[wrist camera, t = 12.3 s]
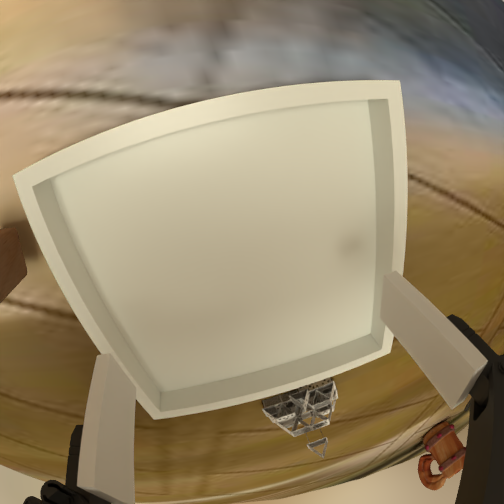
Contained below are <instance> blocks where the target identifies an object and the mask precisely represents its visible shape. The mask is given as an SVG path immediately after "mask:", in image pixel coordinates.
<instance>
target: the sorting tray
mask: <svg viewBox="0 0 504 504" xmlns="http://www.w3.org/2000/svg"><path fill="white" fill-rule="evenodd" d="M12 176H13V179H14V183H15V186H16V189H17V191H18V194H19V197H20V200H21V203H22V205H23V208H24V211H25V213H26V216H27V218H28V221H29V223H30V226H31V228H32V231H33V233H34V235H35V238H36V240H37V242H38V244H39V246H40V249H41V251H42V253H43V255H44V257H45V259H46V261H47V263H48V265H49V267H50V269H51V271H52V273H53V275H54V277H55V279H56V281H57V283H58V285H59V287H60V288H61V290H62V292H63V294H64V296H65V297H66V299H67V301H68V303H69V304H70V306H71V308H72V309H73V311H74V313H75V314H76V316H77V318H78V319H79V321H80V323H81V324H82V326H83V327H84V329H85V330H86V332H87V333H88V335H89V337H90V338H91V340H92V341H93V343H94V344H95V345H96V347H97V348H98V350H99V351H100V353H101V354H107V353H111V354H112V356H113V357H114V358H115V360H116V361H117V363H118V364H119V365H120V367H121V368H122V370H123V371H124V372H125V374H126V375H127V376H128V378H129V379H130V380H131V382H132V383H133V384H134V386H135V387H136V400H137V401H138V402H139V403H140V404H141V405H142V407H143V408H144V409H145V410H146V411H147V412H148V413H149V415H150V416H151V417H152V418H153V419H154V420H156V419H163V418H170V417H177V416H183V415H189V414H195V413H200V412H205V411H210V410H215V409H220V408H225V407H229V406H233V405H238V404H242V403H246V402H250V401H254V400H258V399H262V398H265V397H269V396H272V395H276V394H279V393H283V392H286V391H290V390H293V389H296V388H299V387H302V386H305V385H308V384H311V383H314V382H317V381H320V380H323V379H326V378H329V377H332V376H334V375H337V374H340V373H342V372H345V371H348V370H350V369H353V368H355V367H358V366H360V365H363V364H365V363H367V362H370V361H372V360H375V359H377V358H379V357H381V356H384V355H386V354H388V353H390V352H391V347H392V342H393V337H394V335H393V333H392V332H391V331H390V330H389V328H388V327H387V326H386V325H385V324H384V322H383V321H382V320H381V319H380V309H381V300H382V288H383V276H384V275H385V274H388V273H391V272H393V271H397V272H398V273H399V274H401V275H402V276H403V268H404V257H405V245H406V228H407V195H408V181H407V148H406V132H405V120H404V110H403V101H402V93H401V86H400V81H393V80H358V81H334V82H320V83H308V84H298V85H290V86H282V87H274V88H267V89H261V90H255V91H249V92H243V93H238V94H233V95H228V96H223V97H218V98H214V99H209V100H205V101H201V102H197V103H193V104H189V105H185V106H181V107H178V108H174V109H170V110H167V111H163V112H160V113H157V114H154V115H150V116H147V117H144V118H141V119H138V120H135V121H132V122H129V123H126V124H124V125H121V126H118V127H115V128H113V129H110V130H107V131H105V132H102V133H100V134H97V135H95V136H92V137H90V138H87V139H85V140H83V141H80V142H78V143H76V144H74V145H71V146H69V147H67V148H65V149H63V150H60V151H58V152H56V153H54V154H52V155H50V156H48V157H46V158H44V159H42V160H40V161H38V162H36V163H34V164H32V165H30V166H29V167H27V168H25V169H23V170H21V171H20V172H18V173H16V174H14V175H12Z"/></svg>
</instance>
